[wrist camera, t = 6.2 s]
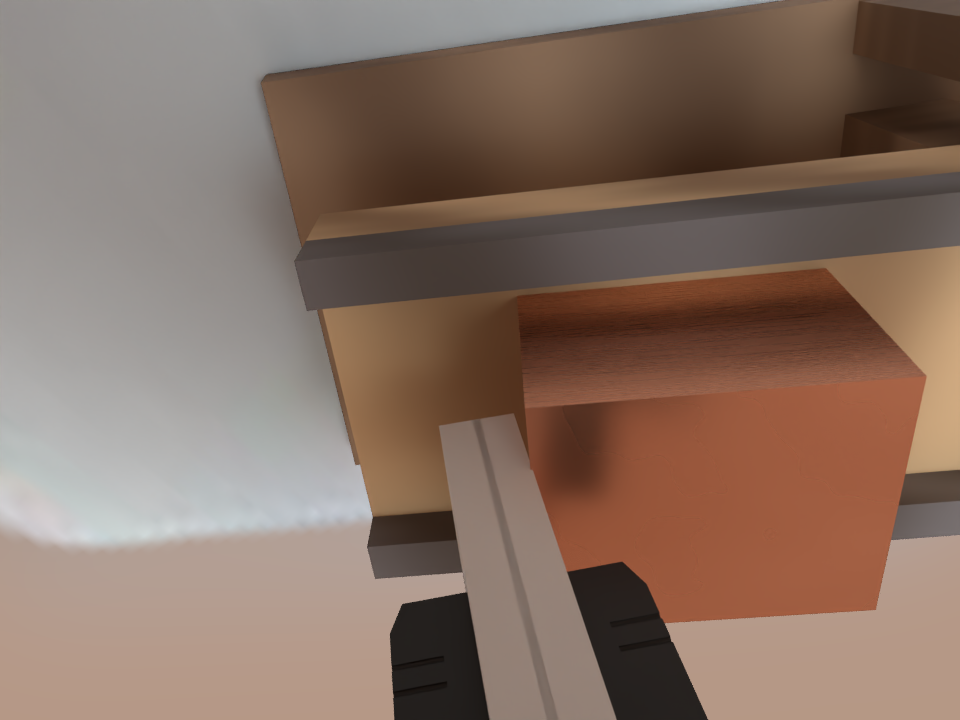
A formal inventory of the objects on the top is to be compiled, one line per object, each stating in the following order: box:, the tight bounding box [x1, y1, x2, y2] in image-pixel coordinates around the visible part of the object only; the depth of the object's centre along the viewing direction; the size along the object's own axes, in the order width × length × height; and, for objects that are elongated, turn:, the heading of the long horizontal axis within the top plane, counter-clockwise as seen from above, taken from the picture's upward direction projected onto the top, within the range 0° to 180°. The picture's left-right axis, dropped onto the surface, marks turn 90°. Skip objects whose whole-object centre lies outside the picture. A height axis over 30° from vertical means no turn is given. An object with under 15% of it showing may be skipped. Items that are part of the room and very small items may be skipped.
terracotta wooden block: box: [517, 268, 927, 623], centre depth 15 cm, size 6×5×4 cm
